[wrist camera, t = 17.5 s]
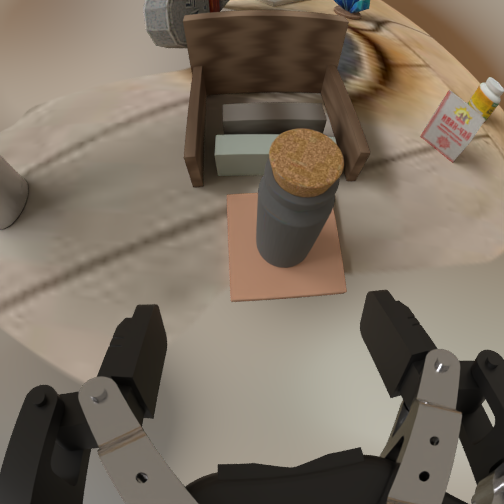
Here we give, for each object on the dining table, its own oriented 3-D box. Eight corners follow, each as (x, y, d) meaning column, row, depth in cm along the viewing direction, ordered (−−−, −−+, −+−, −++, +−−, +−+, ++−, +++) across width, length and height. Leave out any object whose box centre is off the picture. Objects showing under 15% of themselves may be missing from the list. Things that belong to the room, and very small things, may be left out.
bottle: (321, 240, 31) (368, 156, 17) (287, 280, 30) (318, 215, 16) (279, 207, 33) (297, 109, 19) (244, 244, 31) (239, 156, 17)
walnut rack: (190, 187, 35) (162, 103, 21) (197, 88, 41) (184, 15, 28) (358, 180, 35) (399, 103, 22) (327, 86, 41) (344, 16, 28)
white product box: (426, 126, 39) (451, 85, 30) (456, 150, 38) (486, 114, 29) (420, 136, 38) (446, 94, 29) (452, 162, 37) (484, 124, 28)
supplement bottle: (470, 101, 43) (489, 73, 34) (488, 119, 42) (508, 91, 33) (463, 106, 42) (483, 76, 33) (481, 125, 41) (503, 96, 32)
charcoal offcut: (226, 152, 37) (222, 121, 31) (226, 135, 38) (222, 104, 32) (317, 150, 37) (326, 120, 31) (313, 133, 38) (321, 103, 32)
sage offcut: (218, 176, 36) (214, 154, 31) (219, 157, 36) (216, 135, 32) (330, 177, 36) (339, 156, 31) (327, 158, 37) (334, 137, 32)
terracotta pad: (231, 301, 30) (230, 300, 29) (227, 198, 34) (226, 194, 33) (344, 293, 31) (346, 291, 30) (327, 194, 34) (329, 190, 34)
